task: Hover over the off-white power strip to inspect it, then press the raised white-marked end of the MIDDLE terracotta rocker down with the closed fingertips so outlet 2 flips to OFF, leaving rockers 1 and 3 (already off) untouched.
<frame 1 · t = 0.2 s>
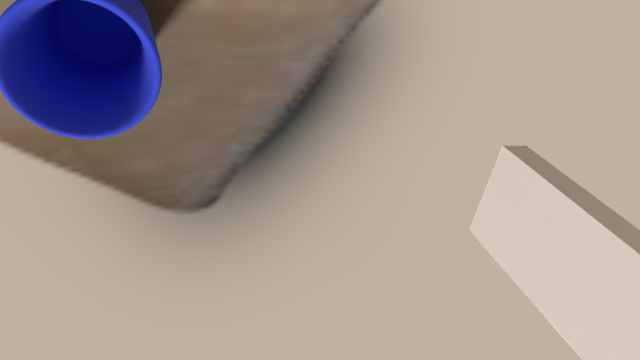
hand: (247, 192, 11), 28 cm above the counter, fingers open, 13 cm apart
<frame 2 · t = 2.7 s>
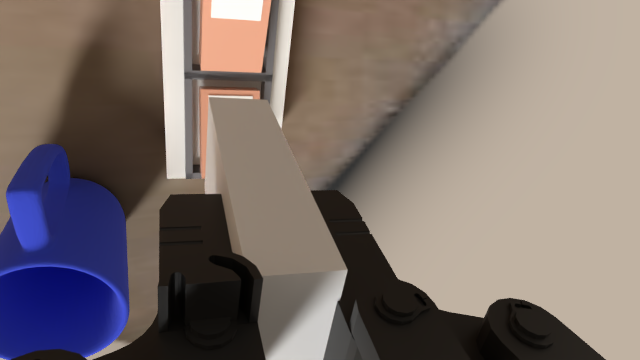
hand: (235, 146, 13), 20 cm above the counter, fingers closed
rocker 3: (229, 132, 27), point 6 cm above the counter, hinge at -15.0°
rocker 2: (233, 22, 24), point 6 cm above the counter, hinge at 15.0°
mug: (70, 187, 33), on the counter
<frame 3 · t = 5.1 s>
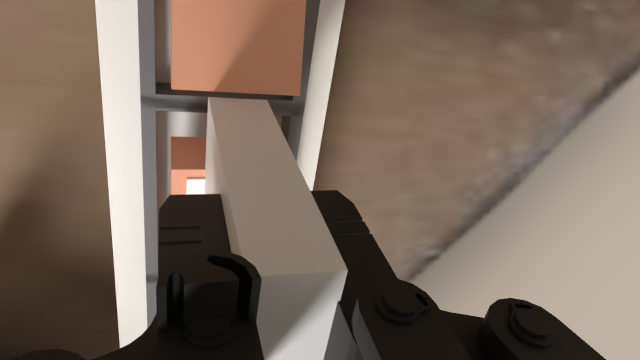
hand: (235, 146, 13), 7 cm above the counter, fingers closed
rocker 2: (223, 213, 15), point 6 cm above the counter, hinge at 13.3°, touching gripper
power strip: (207, 128, 20), on the counter
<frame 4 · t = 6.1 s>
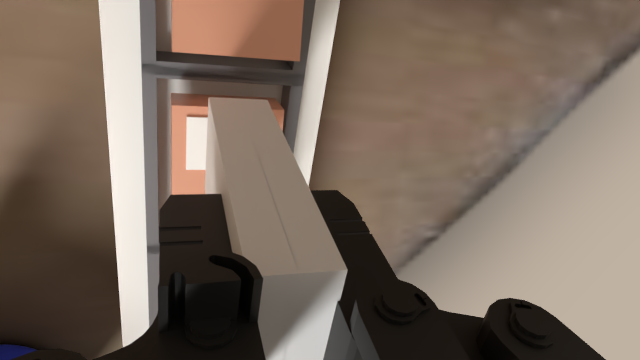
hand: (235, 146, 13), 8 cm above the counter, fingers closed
rocker 2: (223, 178, 15), point 6 cm above the counter, hinge at -7.0°
power strip: (208, 104, 20), on the counter
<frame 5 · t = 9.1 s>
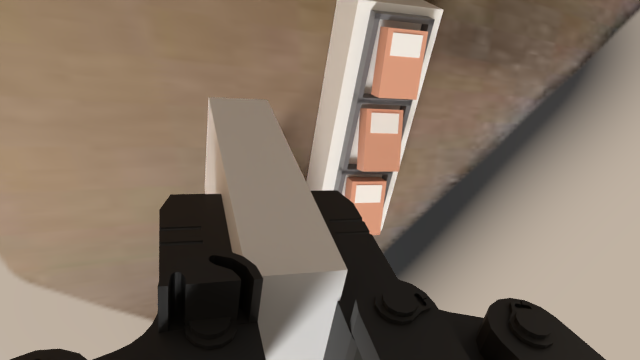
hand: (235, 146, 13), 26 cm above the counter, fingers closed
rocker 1: (399, 63, 35), point 6 cm above the counter, hinge at -11.0°
rocker 3: (363, 206, 42), point 6 cm above the counter, hinge at -15.0°
rocker 2: (379, 140, 39), point 6 cm above the counter, hinge at -22.3°
power strip: (354, 111, 44), on the counter
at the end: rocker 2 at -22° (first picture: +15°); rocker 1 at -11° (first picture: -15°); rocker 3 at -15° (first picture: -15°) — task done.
